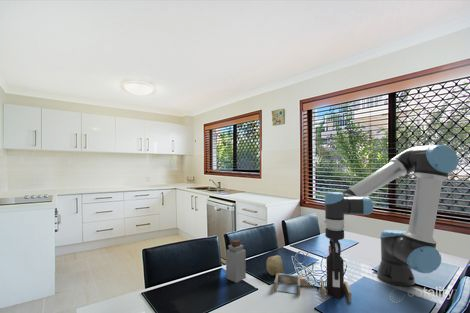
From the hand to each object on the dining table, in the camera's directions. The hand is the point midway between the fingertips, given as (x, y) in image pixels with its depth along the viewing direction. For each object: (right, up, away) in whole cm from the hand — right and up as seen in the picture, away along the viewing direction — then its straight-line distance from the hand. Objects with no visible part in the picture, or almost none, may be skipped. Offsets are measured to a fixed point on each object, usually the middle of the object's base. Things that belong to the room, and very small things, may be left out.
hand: (335, 282), depth 105 cm
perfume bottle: (-42, -6, +15) cm, 45 cm away
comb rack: (-9, -5, +3) cm, 11 cm away
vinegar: (0, -5, 0) cm, 5 cm away
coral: (-23, -6, +19) cm, 30 cm away
